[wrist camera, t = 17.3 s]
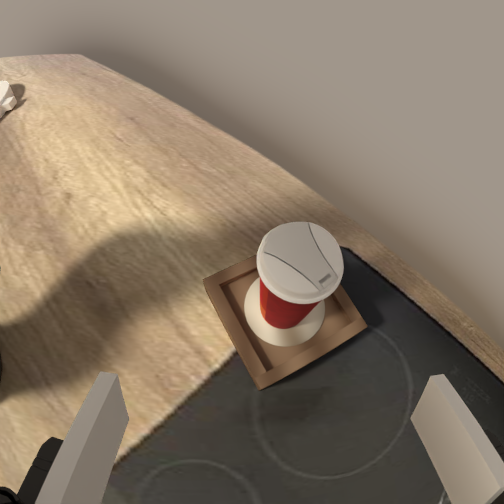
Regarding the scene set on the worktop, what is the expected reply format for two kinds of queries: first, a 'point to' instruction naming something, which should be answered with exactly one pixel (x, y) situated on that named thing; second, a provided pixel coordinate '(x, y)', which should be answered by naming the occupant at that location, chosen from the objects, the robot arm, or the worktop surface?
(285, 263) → the paper cup
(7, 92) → the white circle with bar
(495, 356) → the worktop surface
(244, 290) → the wooden coaster holder
